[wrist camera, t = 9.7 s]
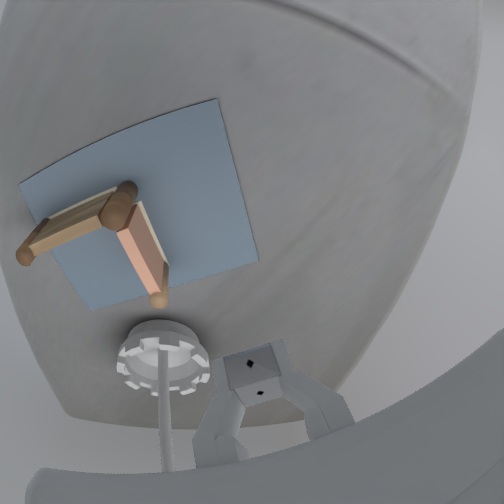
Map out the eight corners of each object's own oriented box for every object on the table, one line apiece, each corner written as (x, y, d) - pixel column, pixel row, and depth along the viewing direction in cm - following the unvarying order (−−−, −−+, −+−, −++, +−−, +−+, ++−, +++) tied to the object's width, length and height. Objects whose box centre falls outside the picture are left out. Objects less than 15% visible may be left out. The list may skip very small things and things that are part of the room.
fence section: (140, 202, 26) (130, 229, 22) (171, 271, 31) (170, 305, 26) (124, 208, 26) (112, 236, 21) (157, 275, 31) (154, 310, 26)
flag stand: (137, 372, 41) (145, 545, 17) (107, 319, 34) (92, 543, 9) (212, 364, 43) (249, 542, 19) (198, 308, 36) (240, 551, 11)
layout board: (19, 184, 22) (17, 185, 22) (216, 98, 24) (217, 98, 23) (90, 309, 33) (90, 311, 33) (258, 259, 34) (259, 261, 34)
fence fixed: (37, 220, 25) (12, 251, 19) (133, 177, 25) (119, 201, 20) (46, 236, 26) (22, 269, 20) (141, 196, 27) (129, 225, 21)
